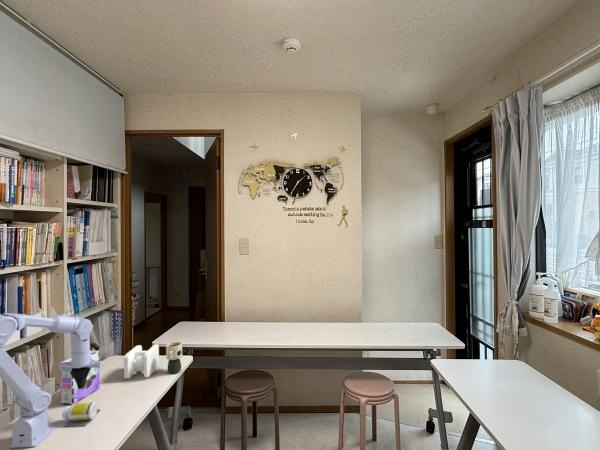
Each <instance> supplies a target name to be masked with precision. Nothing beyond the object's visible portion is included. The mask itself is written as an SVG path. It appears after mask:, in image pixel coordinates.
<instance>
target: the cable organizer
mask: <svg viewBox="0 0 600 450" xmlns="http://www.w3.org/2000/svg"><path fill="white" fill-rule="evenodd" d="M122 360H123V373H124V374H123V376H124V379H131V378H132V377H133V376H134V375H135V376H137V372H141V375H144V378H150V377H151V376H152V374H153V373H154V372H155V371H156V370H158V367H159V365H160V347H159V344H155V343H154V345H152V346H151V347H150V348H149V349H148V350H143V347H142V345H140V344H139V345H136V346H134V347H133V348H132V349H131V350H129V351H128V352H126V354H125V355H124V357H123V359H122Z"/></svg>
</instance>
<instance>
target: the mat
mask: <svg viewBox="0 0 600 450" xmlns="http://www.w3.org/2000/svg"><path fill="white" fill-rule="evenodd" d="M99 412H101V409H100V408H97V413H96V415H97V414H98V413H99ZM92 420H93V419H90V420H75V421H71V420H70V419H69V420H68V421H67V423H65V424H64V428H75V427H87V425H88V424H89V423H90V422H91V421H92Z"/></svg>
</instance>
